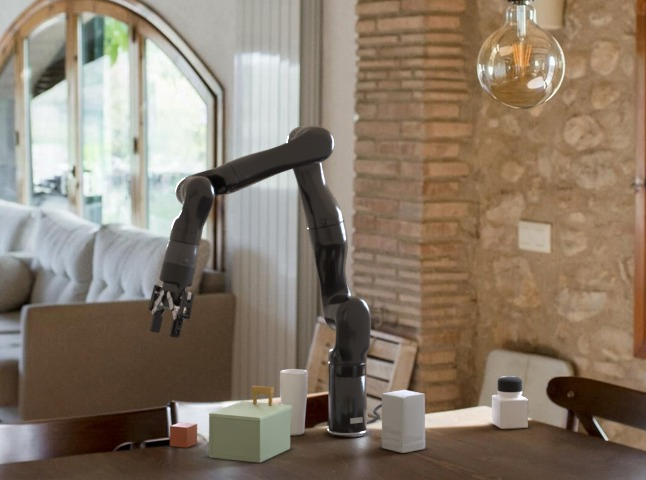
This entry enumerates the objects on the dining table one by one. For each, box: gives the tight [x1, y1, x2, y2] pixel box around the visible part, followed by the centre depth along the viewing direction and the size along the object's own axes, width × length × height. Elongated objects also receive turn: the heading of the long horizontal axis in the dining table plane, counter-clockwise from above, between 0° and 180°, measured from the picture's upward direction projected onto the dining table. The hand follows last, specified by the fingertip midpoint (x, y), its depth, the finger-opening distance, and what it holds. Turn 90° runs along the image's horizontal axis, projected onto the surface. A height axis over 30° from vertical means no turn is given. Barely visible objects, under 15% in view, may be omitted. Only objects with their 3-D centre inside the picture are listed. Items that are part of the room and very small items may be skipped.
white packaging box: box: [381, 389, 426, 454], centre depth 294 cm, size 7×7×13 cm
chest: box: [208, 410, 291, 464], centre depth 289 cm, size 15×13×9 cm
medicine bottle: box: [491, 375, 529, 430], centre depth 319 cm, size 7×7×12 cm
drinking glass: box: [279, 368, 309, 437], centre depth 310 cm, size 7×7×15 cm
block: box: [169, 422, 198, 449], centre depth 298 cm, size 5×5×5 cm
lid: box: [208, 385, 292, 421], centre depth 290 cm, size 16×13×5 cm
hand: (164, 334), depth 287 cm, fingers open, 8 cm apart
